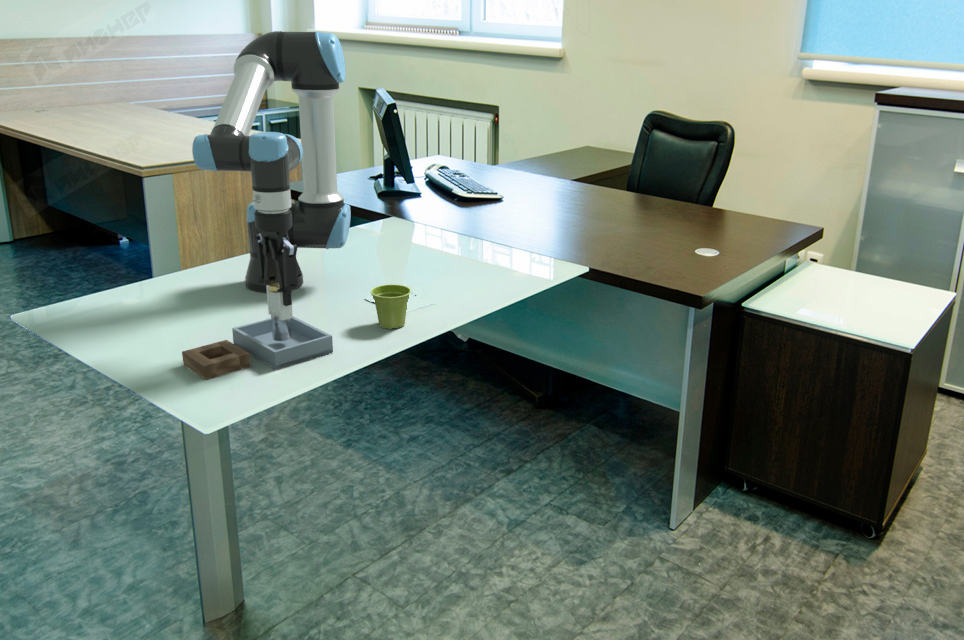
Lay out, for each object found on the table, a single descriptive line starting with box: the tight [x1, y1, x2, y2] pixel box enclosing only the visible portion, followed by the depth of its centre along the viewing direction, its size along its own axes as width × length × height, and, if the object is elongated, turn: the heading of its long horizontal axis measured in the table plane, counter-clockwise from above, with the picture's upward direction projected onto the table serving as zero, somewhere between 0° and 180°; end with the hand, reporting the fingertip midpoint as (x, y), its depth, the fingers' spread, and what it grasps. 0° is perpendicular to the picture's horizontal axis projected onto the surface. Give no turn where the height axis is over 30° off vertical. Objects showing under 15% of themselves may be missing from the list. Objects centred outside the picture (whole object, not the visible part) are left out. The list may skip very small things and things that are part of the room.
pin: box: [269, 283, 291, 341], centre depth 176 cm, size 4×4×12 cm
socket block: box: [181, 339, 252, 381], centre depth 170 cm, size 10×10×3 cm
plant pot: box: [370, 283, 412, 329], centre depth 193 cm, size 9×9×9 cm
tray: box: [231, 316, 334, 371], centre depth 179 cm, size 14×18×4 cm
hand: (280, 315), depth 177 cm, fingers closed on pin, 4 cm apart
